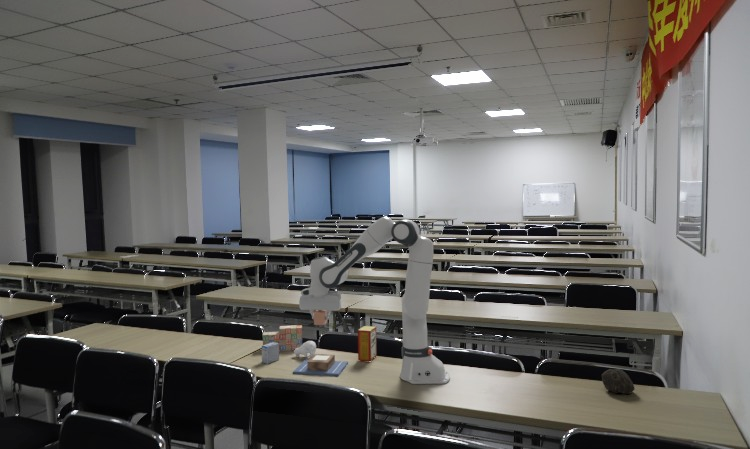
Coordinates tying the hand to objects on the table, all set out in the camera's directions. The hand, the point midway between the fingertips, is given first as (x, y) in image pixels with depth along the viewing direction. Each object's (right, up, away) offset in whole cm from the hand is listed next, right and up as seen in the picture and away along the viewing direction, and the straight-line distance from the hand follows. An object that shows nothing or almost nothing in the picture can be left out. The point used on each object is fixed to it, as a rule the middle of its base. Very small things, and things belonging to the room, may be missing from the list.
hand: (320, 319), depth 232 cm
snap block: (0, -2, 0) cm, 2 cm away
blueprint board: (0, -24, +1) cm, 24 cm away
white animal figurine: (-10, -24, +19) cm, 32 cm away
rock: (+126, -24, -33) cm, 133 cm away
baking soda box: (+22, -23, +15) cm, 36 cm away
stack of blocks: (-25, -24, +34) cm, 48 cm away
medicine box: (-27, -24, +13) cm, 38 cm away
